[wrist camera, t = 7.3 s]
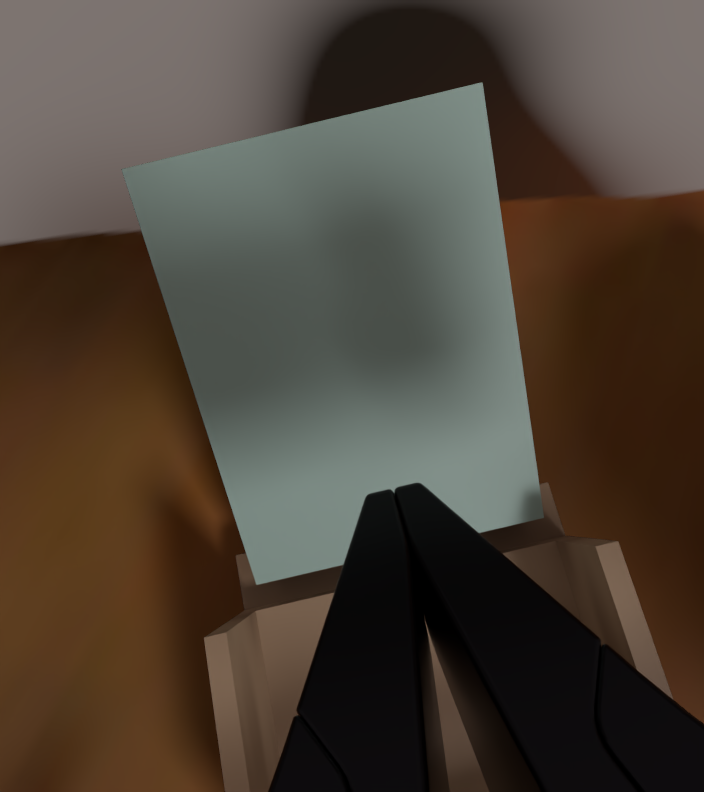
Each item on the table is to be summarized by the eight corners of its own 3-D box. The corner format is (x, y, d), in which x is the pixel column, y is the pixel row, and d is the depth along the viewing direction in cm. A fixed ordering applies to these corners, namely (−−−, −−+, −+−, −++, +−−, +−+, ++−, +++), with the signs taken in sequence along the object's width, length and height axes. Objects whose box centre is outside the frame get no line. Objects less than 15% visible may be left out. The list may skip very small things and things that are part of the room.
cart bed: (642, 816, 15) (762, 954, 10) (300, 894, 15) (262, 1067, 11) (537, 484, 18) (594, 472, 13) (245, 552, 18) (193, 566, 13)
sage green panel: (545, 531, 15) (482, 82, 12) (261, 598, 15) (121, 169, 12) (526, 508, 16) (465, 102, 13) (266, 569, 17) (143, 180, 13)
